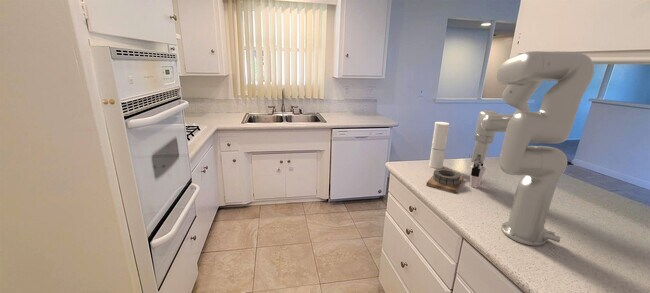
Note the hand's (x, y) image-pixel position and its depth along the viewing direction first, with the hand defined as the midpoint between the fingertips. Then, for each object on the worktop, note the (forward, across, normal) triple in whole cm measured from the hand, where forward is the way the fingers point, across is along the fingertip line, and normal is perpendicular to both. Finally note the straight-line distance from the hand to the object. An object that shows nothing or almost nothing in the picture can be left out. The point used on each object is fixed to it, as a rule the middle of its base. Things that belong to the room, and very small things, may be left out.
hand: (476, 172), depth 129 cm
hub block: (+7, +6, -12) cm, 15 cm away
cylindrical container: (+7, -14, -22) cm, 27 cm away
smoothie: (+7, 0, 0) cm, 7 cm away
